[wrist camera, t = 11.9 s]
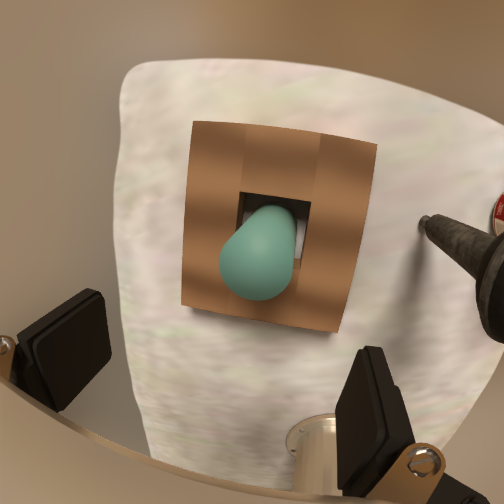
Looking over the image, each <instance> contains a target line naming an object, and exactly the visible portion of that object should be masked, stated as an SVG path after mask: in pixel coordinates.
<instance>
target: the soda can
mask: <svg viewBox="0 0 504 504" xmlns="http://www.w3.org/2000/svg"><path fill="white" fill-rule="evenodd" d="M493 228H494V233H495V235H496V237H497V236H498V235H500V234H501V233H502V232H504V192H503V193H502V194H501V195H500V197H499V198H498V200H497V202H496V205H495V208H494V212H493Z"/></svg>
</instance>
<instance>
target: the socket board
mask: <svg viewBox="0 0 504 504" xmlns="http://www.w3.org/2000/svg"><path fill="white" fill-rule="evenodd" d="M376 151H377V144H374V143H369V142H365V141H360V140H355V139H350V138H345V137H340V136H334V135H328V134H323V133H316V132H310V131H303V130H296V129H289V128H281V127H272V126H263V125H253V124H241V123H228V122H211V121H193V126H192V135H191V144H190V154H189V164H188V175H187V187H186V201H185V216H184V233H183V256H182V290H181V305H184V306H189V307H194V308H198V309H203V310H208V311H212V312H217V313H222V314H227V315H232V316H237V317H243V318H248V319H253V320H259V321H264V322H270V323H276V324H282V325H288V326H294V327H301V328H307V329H314V330H321V331H328V332H335V333H338V330H339V326H340V323H341V320H342V316H343V312H344V309H345V305H346V302H347V298H348V294H349V290H350V286H351V282H352V278H353V274H354V270H355V266H356V262H357V257H358V253H359V248H360V244H361V239H362V234H363V229H364V224H365V219H366V214H367V209H368V203H369V197H370V191H371V185H372V179H373V172H374V166H375V158H376ZM246 192H249V193H257V194H264V195H271V196H278V197H285V198H291V199H298V200H304V201H310V205H309V211H308V218H307V224H306V230H305V236H304V242H303V248H302V254H301V259H295V258H294V263H293V273H292V277H291V280H290V282H289V284H288V285H287V287H286V288H285V289H284V290H283V291H282V292H281V293H280V294H278V295H277V296H275V297H273V298H270V299H267V300H261V301H255V300H249V299H245V298H242V297H240V296H238V295H237V294H235V293H234V292H233V291H231V290H230V289H229V288H228V287H227V285H226V284H225V283H224V281H223V279H222V277H221V274H220V271H219V256H220V253H221V250H222V248H223V246H224V245H225V243H226V242H227V241H228V240H229V239H230V238H231V237H232V236H233V234H234V233H235V232H236V231H237V230H238V229H239V228H240V227H241V226H242V220H243V211H244V202H245V193H246Z"/></svg>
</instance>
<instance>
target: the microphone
mask: <svg viewBox="0 0 504 504" xmlns="http://www.w3.org/2000/svg"><path fill="white" fill-rule="evenodd" d="M420 225H421V226H422V227H423V228H425V230H426V235H427V237H428V239H429V240H430V241H432V242H433V243H434V244H435V245H436V246H438V247H439V248H440V249H441V250H443V251H444V252H445V253H446V254H447V255H448V256H450V257H451V258H452V259H453V260H454V261H455V262H457V263H458V264H459V265H460V266H461V267H462V268H463V269H465V270H466V271H467V272H468V273H469V274H470V275H471V276H472V277H473V278H474V279H476V302H477V307H478V311H479V314H480V319H481V322H482V325H483V328H484V330H485V332H486V333H487V335H488V336H489V337H490V338H492V339H493V340H495V341H497V342H499V343H503V344H504V232H502V233H501V234H500V235H498V236H497V237H495V236H493V235H490V234H488V233H486V232H483V231H481V230H478V229H476V228H474V227H471V226H469V225H466V224H464V223H461V222H459V221H456V220H453V219H451V218H448V217H446V216H443V215H440V214H437V215H433V216H432V217H431V218H430V217H429V216H426V215H425V216H423V217H422V218H421V219H420Z"/></svg>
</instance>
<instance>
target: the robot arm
mask: <svg viewBox="0 0 504 504" xmlns="http://www.w3.org/2000/svg"><path fill="white" fill-rule="evenodd" d="M17 338H18V341H19V343H18V344H17V345H16V343H15V341H14V339H13V338H11V337H9V336H4V335H1V336H0V504H490V503H489V501H488V500H487V498H486V497H484V496H483V495H482V494H480V493H478V492H476V491H474V490H473V489H471V488H469V487H468V486H466V485H464V484H462V483H461V482H459V481H457V480H456V479H454V478H452V477H451V476H449V475H447V474H446V473H444V470H445V467H446V462H445V458H444V456H443V454H442V453H441V451H440V450H439V449H437V448H436V447H435V446H433V445H430V444H428V443H416V442H415V439H414V435H413V432H412V428H411V425H410V421H409V418H408V414H407V411H406V408H405V405H404V401H403V398H402V395H401V392H400V389H399V387H398V386H395V385H394V382H393V379H392V376H391V373H390V370H389V367H388V364H387V361H386V358H385V355H384V352H383V349H382V348H381V347H374V346H365V347H364V348H363V350H362V349H359V350H358V352H357V354H356V357H355V360H354V362H353V365H352V368H351V370H350V373H349V375H348V378H347V381H346V383H345V386H344V388H343V390H342V393H341V395H340V398H339V400H338V402H337V405H336V409H335V414H326V415H320V416H315V417H312V418H309V419H306V420H304V421H302V422H300V423H299V424H297V425H296V426H294V427H293V428H292V429H291V430H290V432H289V434H288V436H287V449H288V451H289V452H290V453H291V454H292V455H293V456H294V457H296V459H295V469H294V479H293V488H292V492H290V491H283V490H276V489H269V488H263V487H257V486H251V485H246V484H241V483H236V482H231V481H227V480H223V479H218V478H214V477H210V476H207V475H203V474H199V473H196V472H192V471H189V470H186V469H182V468H179V467H176V466H173V465H170V464H167V463H164V462H161V461H158V460H156V459H153V458H150V457H147V456H145V455H142V454H140V453H137V452H135V451H132V450H130V449H127V448H125V447H123V446H120V445H118V444H116V443H114V442H111V441H109V440H107V439H105V438H103V437H101V436H99V435H97V434H95V433H93V432H91V431H89V430H87V429H85V428H83V427H81V426H79V425H77V424H75V423H74V422H72V421H70V420H68V419H67V418H65V417H63V416H61V415H60V414H58V412H59V411H62V410H64V409H65V408H66V407H67V406H68V405H69V404H70V403H71V402H72V400H73V399H74V398H75V397H76V396H77V395H78V394H79V393H80V392H81V391H82V390H83V388H84V387H85V386H86V385H87V384H88V383H89V382H90V380H92V379H93V378H94V376H95V375H96V374H97V373H98V372H99V371H100V370H101V369H102V368H103V367H104V366H105V365H106V364H107V363H108V361H109V360H110V359H111V355H112V352H111V345H110V339H109V332H108V325H107V317H106V308H105V300H104V298H103V296H102V294H101V293H100V292H99V291H96V290H92V289H89V288H86V289H84V290H83V291H81V292H80V293H78V294H76V295H75V296H74V297H72V298H70V299H69V300H67V301H66V302H64V303H63V304H61V305H60V306H58V307H57V308H55V309H54V310H52V311H51V312H49V313H48V314H46V315H45V316H43V317H42V318H40V319H39V320H37V321H36V322H34V323H33V324H31V325H30V326H29V327H27V328H26V329H24V330H23V331H21V332H20V333H18V334H17Z"/></svg>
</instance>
